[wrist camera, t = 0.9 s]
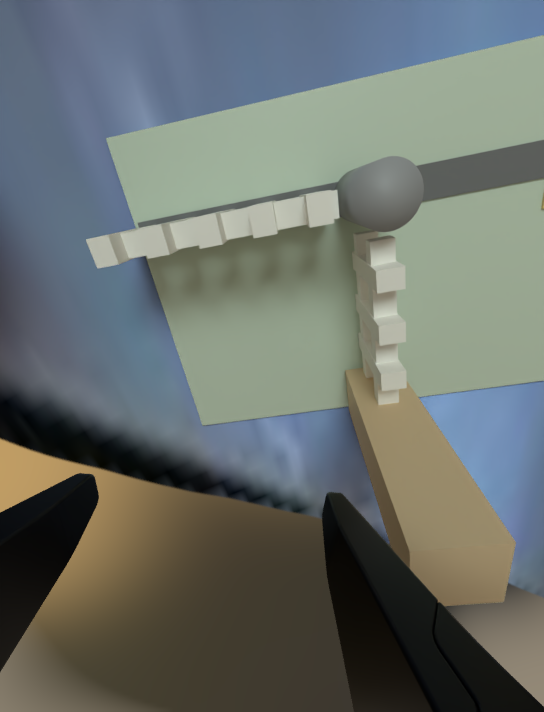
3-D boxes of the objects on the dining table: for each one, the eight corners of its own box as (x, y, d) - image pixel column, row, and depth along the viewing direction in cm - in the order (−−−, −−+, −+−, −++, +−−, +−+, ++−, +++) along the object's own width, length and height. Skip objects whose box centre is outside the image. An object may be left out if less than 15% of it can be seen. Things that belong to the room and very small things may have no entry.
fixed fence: (146, 262, 18) (95, 286, 13) (130, 215, 17) (69, 223, 12) (382, 216, 17) (423, 225, 12) (380, 163, 16) (424, 149, 11)
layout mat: (203, 423, 23) (202, 426, 23) (108, 139, 16) (104, 137, 16) (593, 371, 20) (597, 374, 20) (691, 1, 13) (700, -3, 13)
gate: (331, 236, 17) (407, 298, 7) (391, 224, 17) (570, 271, 6) (349, 410, 22) (410, 608, 11) (396, 403, 21) (503, 601, 11)
